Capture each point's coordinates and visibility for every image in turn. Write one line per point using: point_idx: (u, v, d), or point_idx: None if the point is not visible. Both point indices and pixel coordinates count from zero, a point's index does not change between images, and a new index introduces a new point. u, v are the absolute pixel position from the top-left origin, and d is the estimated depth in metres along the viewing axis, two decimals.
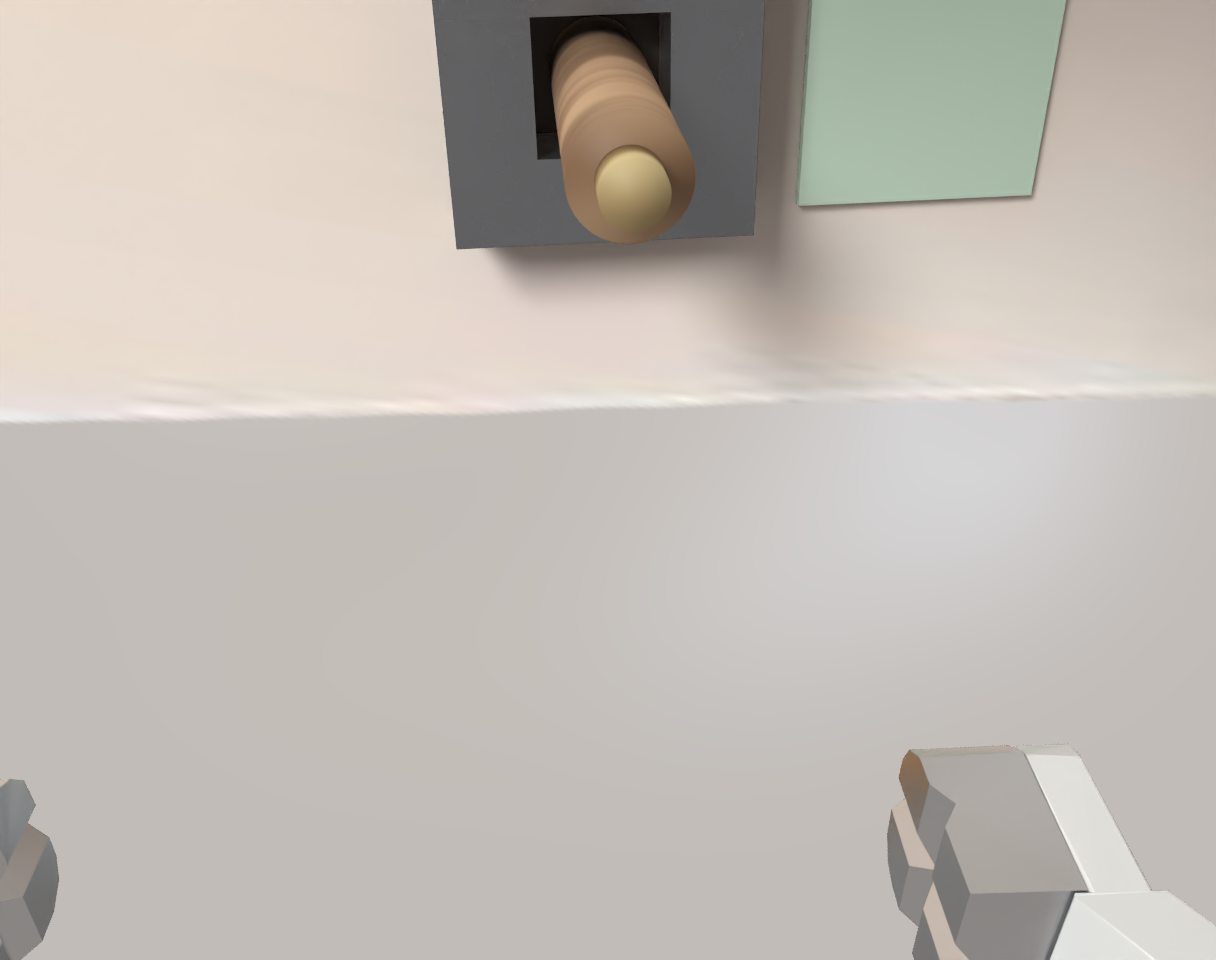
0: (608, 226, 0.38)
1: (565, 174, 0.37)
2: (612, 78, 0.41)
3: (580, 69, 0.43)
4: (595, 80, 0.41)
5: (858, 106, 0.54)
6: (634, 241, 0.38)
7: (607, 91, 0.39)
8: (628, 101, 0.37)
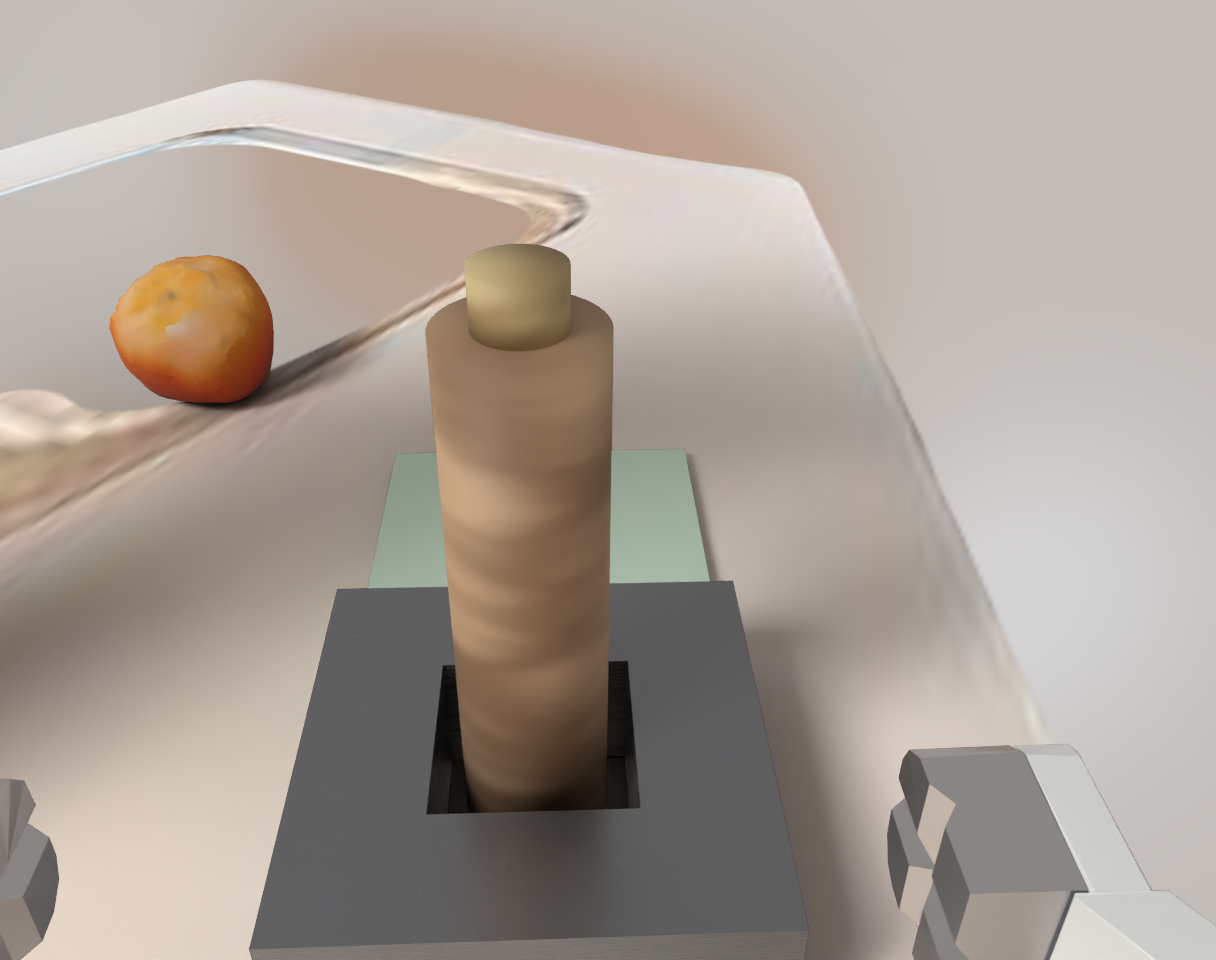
0: (585, 341, 0.26)
1: (504, 373, 0.24)
2: (441, 512, 0.29)
3: (459, 633, 0.30)
4: (446, 539, 0.29)
5: None
6: (609, 323, 0.26)
7: (437, 461, 0.28)
8: None
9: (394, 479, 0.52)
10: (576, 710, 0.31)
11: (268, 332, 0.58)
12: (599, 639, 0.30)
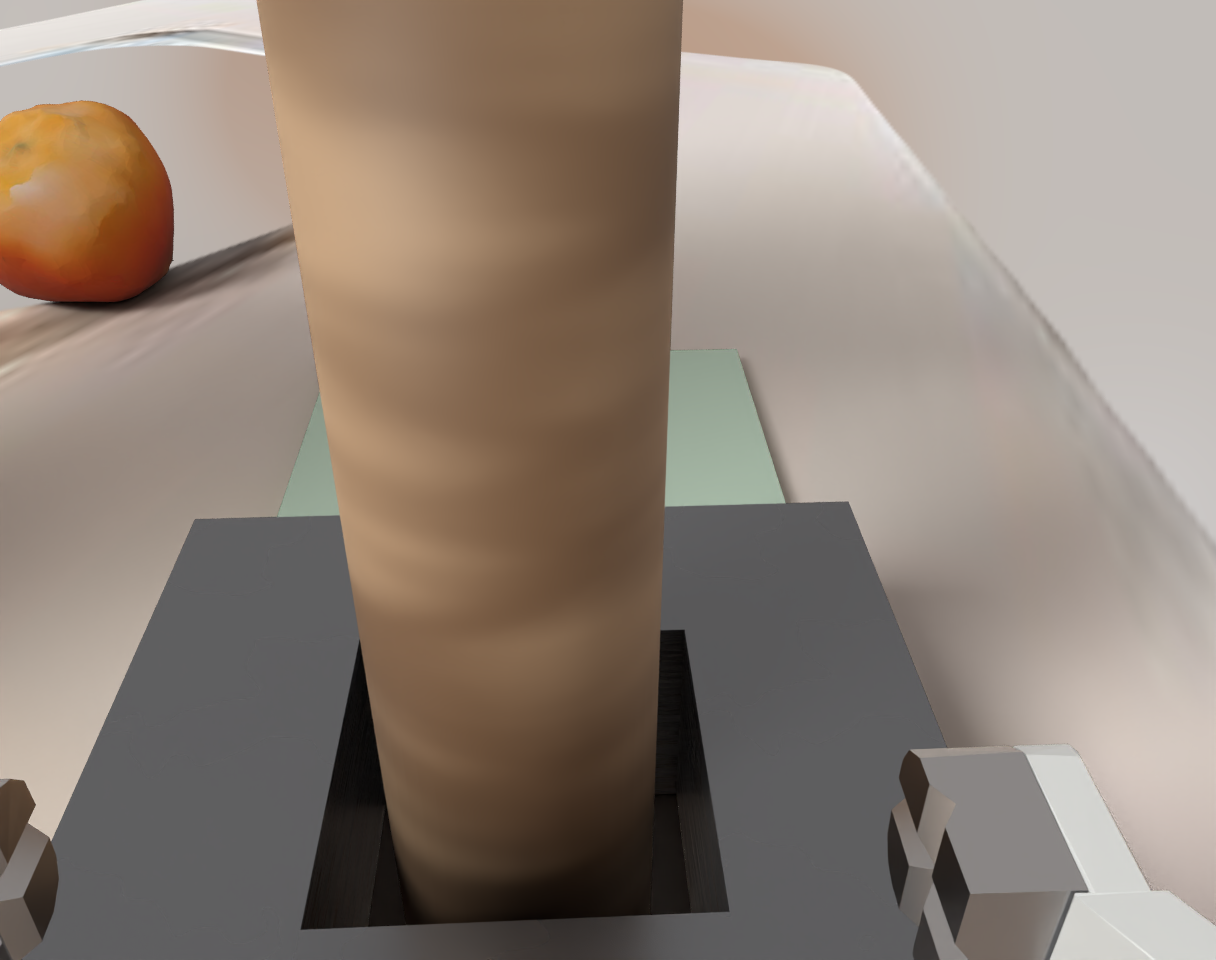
0: None
1: None
2: None
3: (356, 558, 0.14)
4: (314, 343, 0.13)
5: None
6: None
7: (281, 148, 0.12)
8: None
9: None
10: (599, 717, 0.15)
11: (162, 204, 0.43)
12: (646, 570, 0.15)
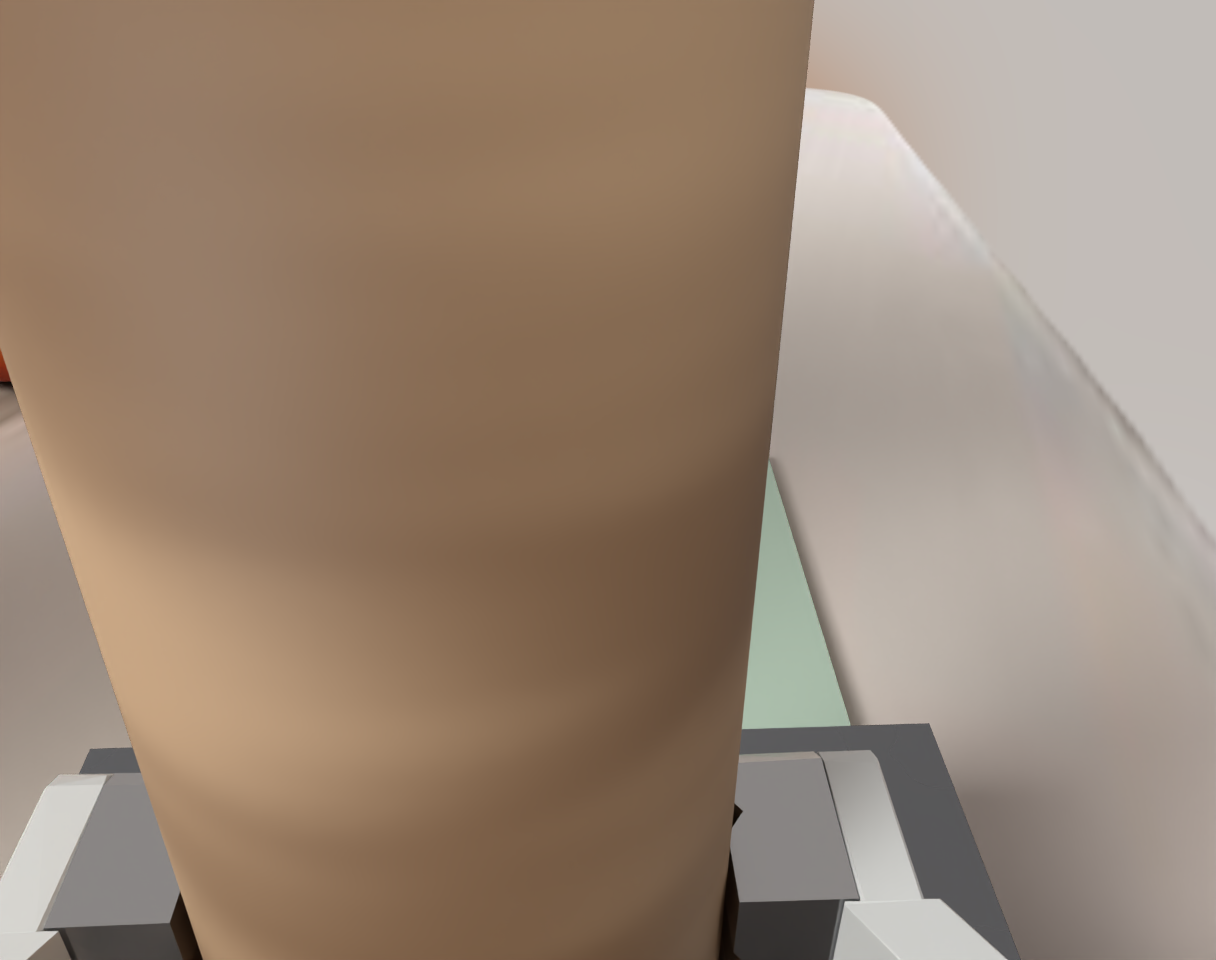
0: None
1: None
2: None
3: None
4: None
5: None
6: None
7: None
8: None
9: None
10: None
11: None
12: None
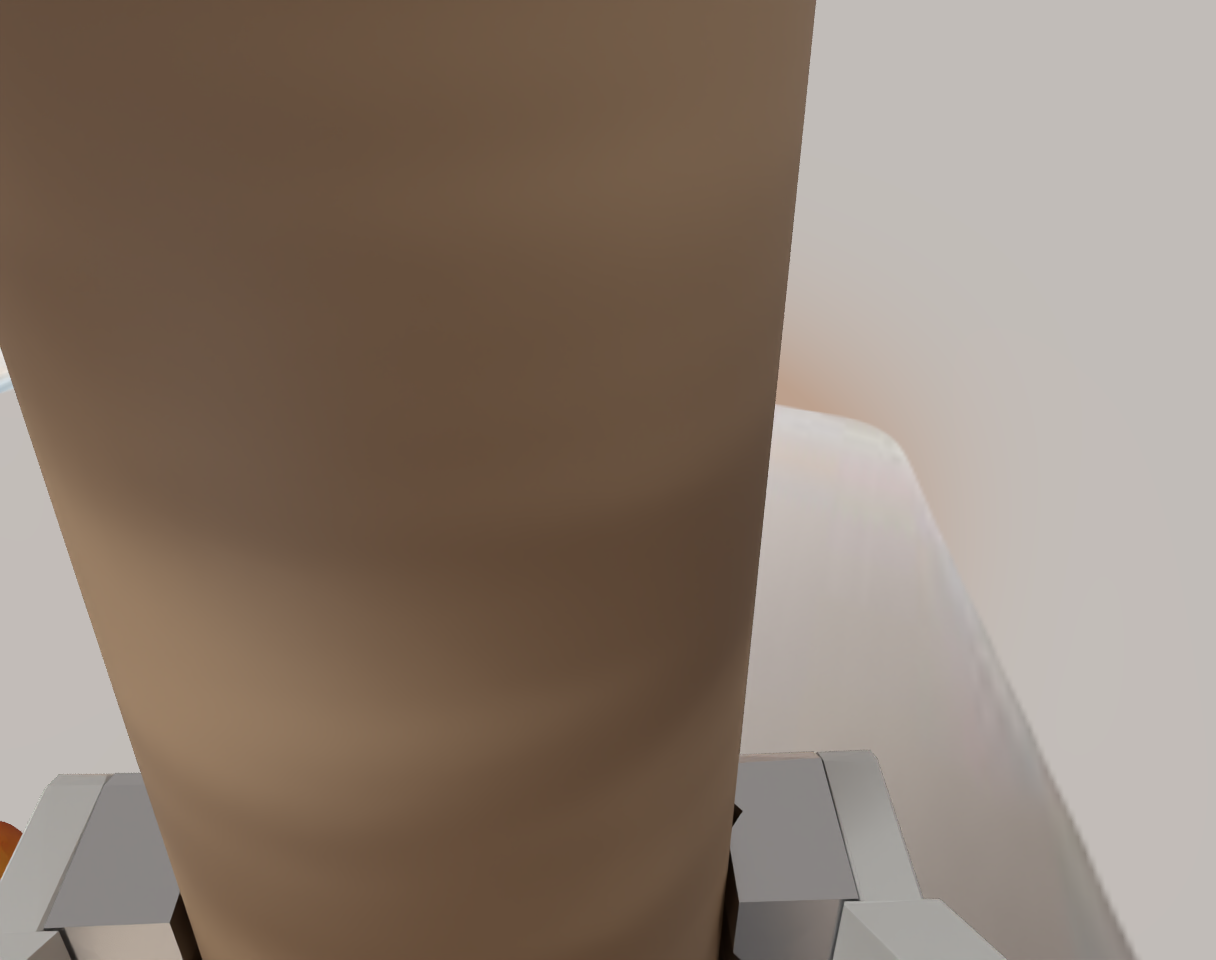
0: None
1: None
2: None
3: None
4: None
5: None
6: None
7: None
8: None
9: None
10: None
11: None
12: None
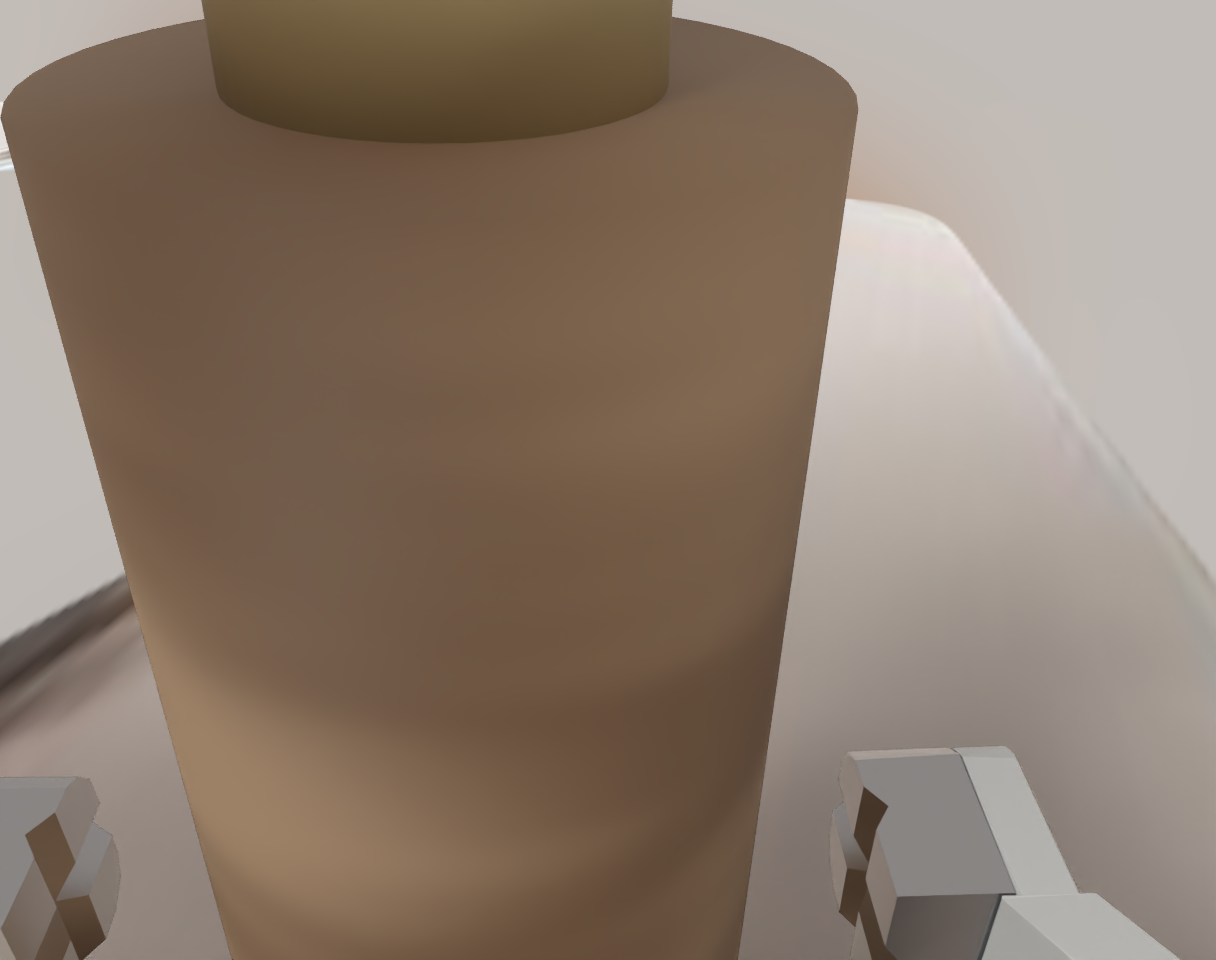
0: (745, 119, 0.06)
1: (328, 228, 0.04)
2: None
3: None
4: None
5: None
6: (828, 72, 0.06)
7: None
8: None
9: None
10: None
11: None
12: None
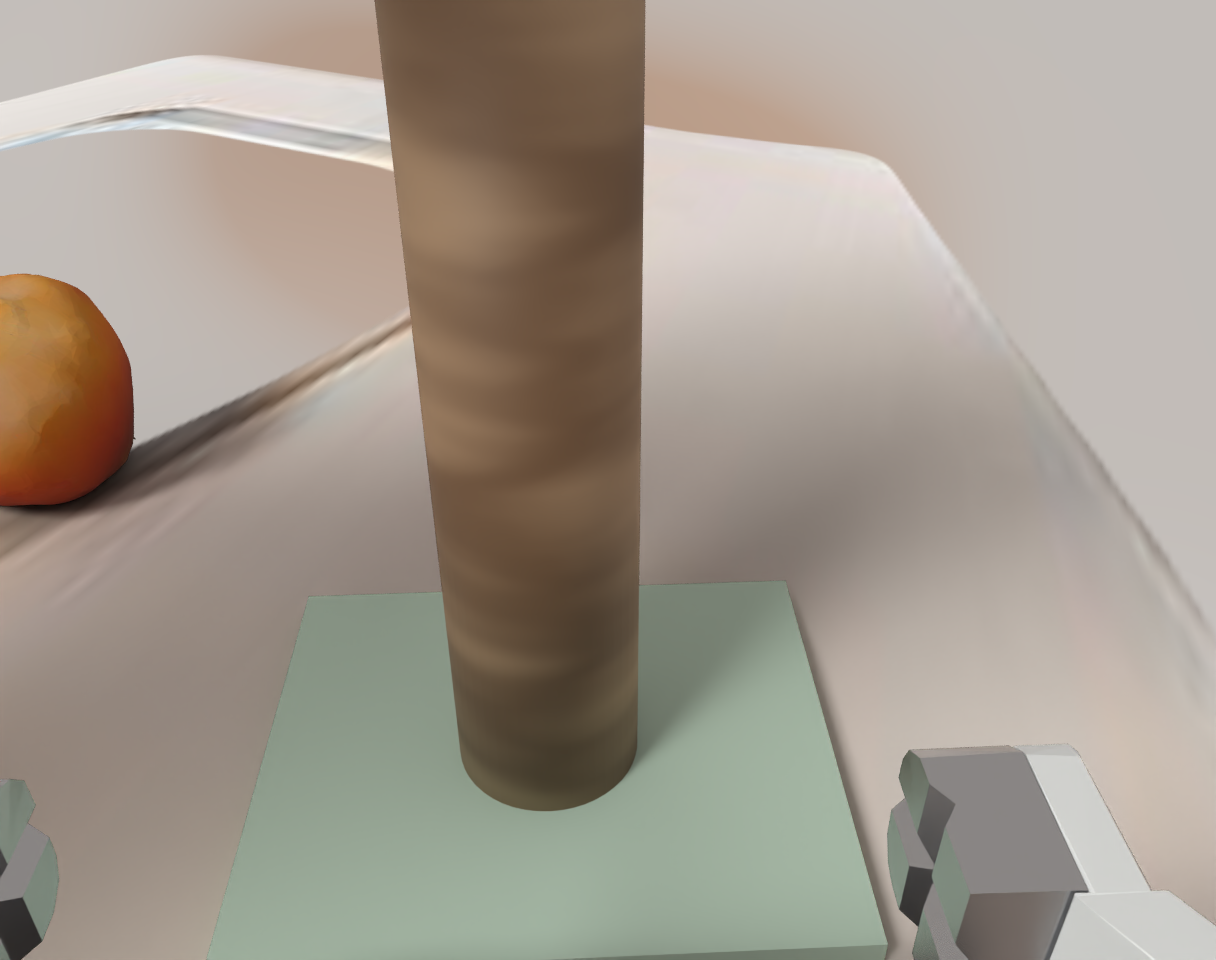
0: None
1: None
2: (404, 259, 0.20)
3: (434, 439, 0.21)
4: (411, 293, 0.20)
5: (646, 850, 0.25)
6: None
7: (394, 168, 0.19)
8: None
9: (301, 648, 0.31)
10: (597, 551, 0.22)
11: (117, 393, 0.37)
12: (628, 448, 0.22)
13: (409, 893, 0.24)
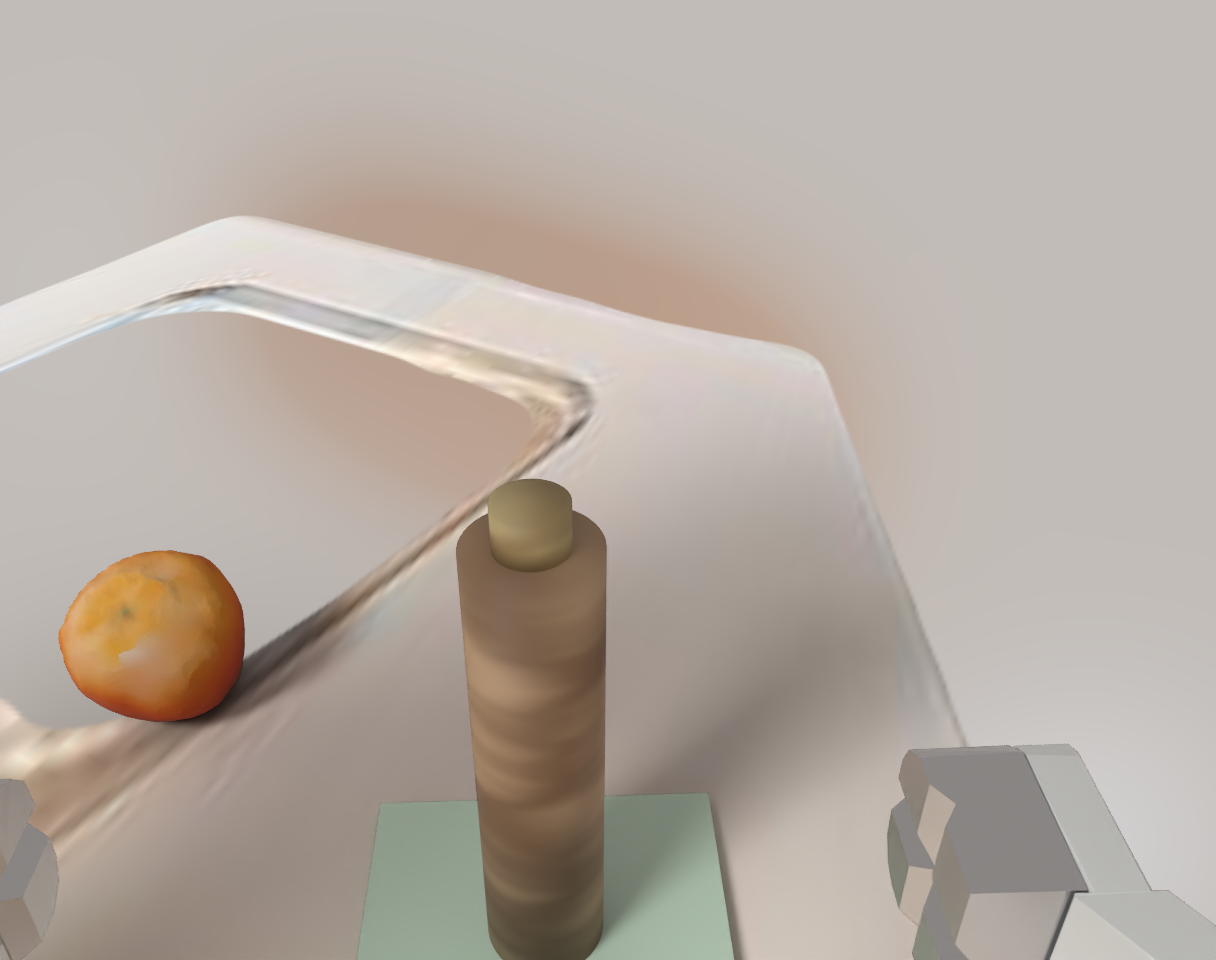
0: (584, 561, 0.32)
1: (520, 595, 0.31)
2: None
3: (481, 776, 0.36)
4: (471, 704, 0.35)
5: None
6: (603, 542, 0.33)
7: (464, 645, 0.34)
8: None
9: (378, 847, 0.46)
10: (577, 836, 0.37)
11: (237, 639, 0.52)
12: (596, 779, 0.37)
13: None
